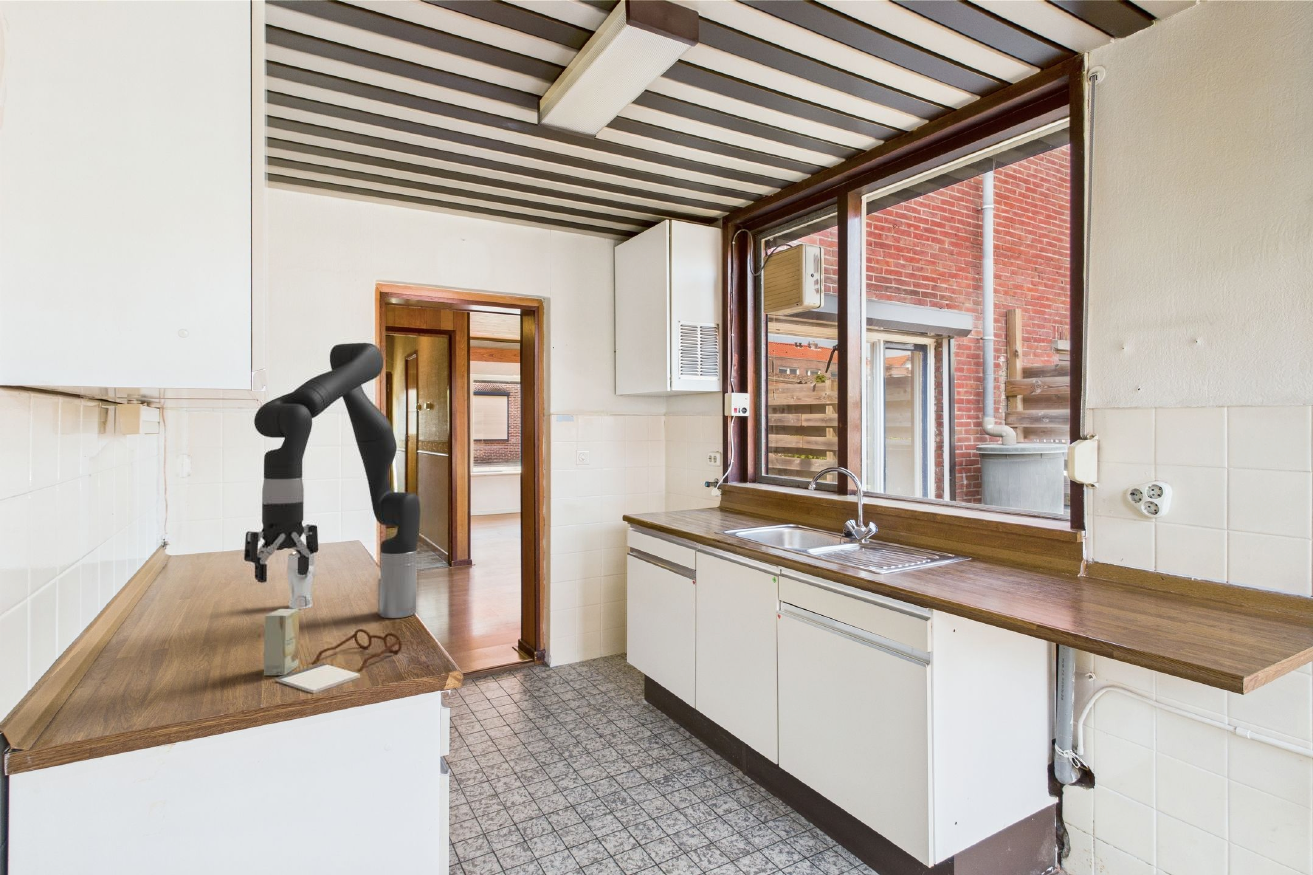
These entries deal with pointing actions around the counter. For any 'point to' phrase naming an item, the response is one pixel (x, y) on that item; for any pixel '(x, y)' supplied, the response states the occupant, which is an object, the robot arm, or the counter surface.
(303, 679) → the board
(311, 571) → the beer glass
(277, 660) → the skincare box
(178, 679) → the counter surface
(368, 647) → the glasses
